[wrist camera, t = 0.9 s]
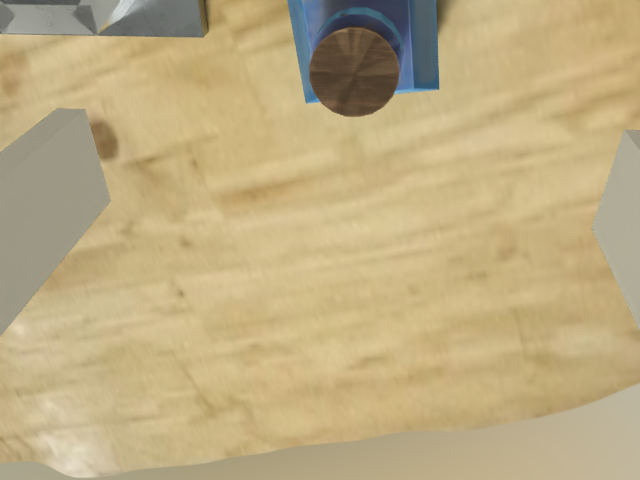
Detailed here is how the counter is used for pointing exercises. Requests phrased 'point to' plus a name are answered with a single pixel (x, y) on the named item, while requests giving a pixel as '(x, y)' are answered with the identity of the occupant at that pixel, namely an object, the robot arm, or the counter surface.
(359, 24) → the perfume bottle
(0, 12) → the flange
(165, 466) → the counter surface
